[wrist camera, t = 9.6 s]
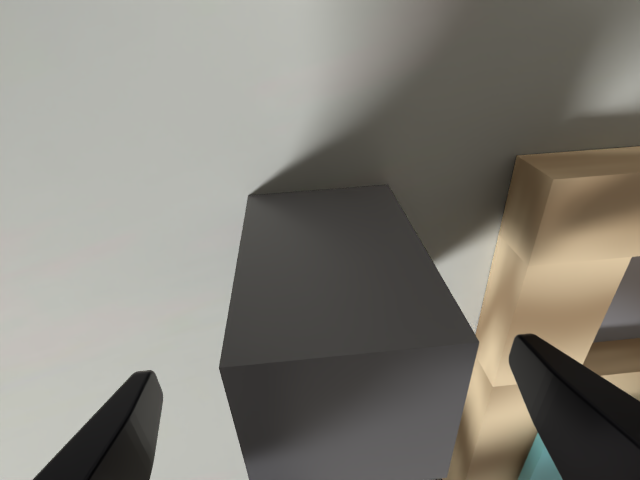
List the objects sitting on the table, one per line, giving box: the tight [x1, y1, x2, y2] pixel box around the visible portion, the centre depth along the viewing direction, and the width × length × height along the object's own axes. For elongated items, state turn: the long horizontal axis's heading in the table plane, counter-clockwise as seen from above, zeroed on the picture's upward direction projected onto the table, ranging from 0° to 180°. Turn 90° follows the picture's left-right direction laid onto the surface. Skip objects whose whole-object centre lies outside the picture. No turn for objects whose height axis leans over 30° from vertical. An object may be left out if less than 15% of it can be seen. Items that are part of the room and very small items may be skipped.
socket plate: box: [442, 146, 640, 480], centre depth 18 cm, size 22×13×2 cm, turn 3°
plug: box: [219, 185, 479, 480], centre depth 11 cm, size 5×5×7 cm
